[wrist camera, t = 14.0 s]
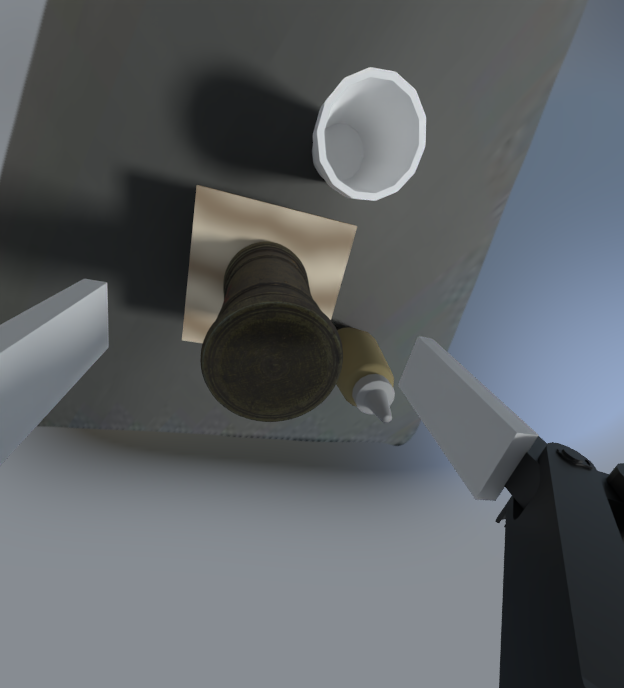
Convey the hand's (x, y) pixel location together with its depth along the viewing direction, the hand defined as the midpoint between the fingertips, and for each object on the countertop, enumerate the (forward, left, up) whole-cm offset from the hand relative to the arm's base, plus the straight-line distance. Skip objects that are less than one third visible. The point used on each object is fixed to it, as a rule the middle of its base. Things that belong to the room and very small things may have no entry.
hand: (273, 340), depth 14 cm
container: (+3, +1, -22) cm, 22 cm away
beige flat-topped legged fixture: (+3, +1, -31) cm, 31 cm away
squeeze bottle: (+12, +15, -31) cm, 37 cm away
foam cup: (-12, +7, -31) cm, 34 cm away
